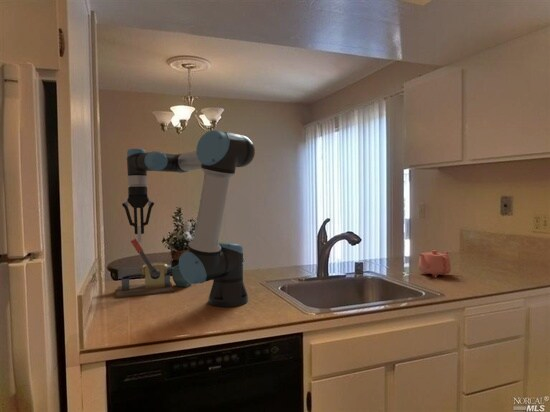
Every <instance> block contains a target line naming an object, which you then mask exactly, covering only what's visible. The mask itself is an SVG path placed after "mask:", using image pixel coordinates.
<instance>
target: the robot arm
mask: <svg viewBox="0 0 550 412" xmlns="http://www.w3.org/2000/svg"><path fill="white" fill-rule="evenodd" d="M255 155H256V150H255V145H254V143H253V141H252V140H251V139H250V138H249V137H248V136H245V135H243V134H238V133H234V132H233V133H232V132H227V131H224V130H215V129H213V130H209V131H207V132H205V133H204V134H202V135H201V137H200V138H199V140H198V142H197V145H196V150H193V151H189V152H183V153H177V154H175V153H166V152H165V153H164V152H162V151H157V150H156V151H154V150H153V151H149V152H146V150H145V149H143V148H129V149H127V152H126V168H127V186H129V187H128V188H127V190H128V191H127V192H128V197H127V200H126V201H125V202H122V204H121V205H122V207H123V208H124V210H125V213H126V217H127V219H128V223H129V225H130V226H131V227H133V228H134V235H137V241H138V243H142V235H145V226H147V225H149V222H150V221H149V220H150V217H151V212H152V209H153V207H154V206H155V202H153V201H151V200H150V198H149V197H148V186H147V185H148V173H147V172H168V173H178V174H181V173H183V174H184V173H188V172H189V171H193V170H195V171H197V170H202V171H203V175H204V176H203V182H202V187H201V194H200V198H199V199H200V200H199V205H198V206H199V207H198V212H197V218H196V224H195V230H194V235H193V236H194V238H193V240H191V241H190V242H189V243H188V247H187V251H184V252H183V253H182V254H181V255H180V256H179V259H178V265H179V269H180V272H181V274H182V276H183V278H184V279H185V280H186V281H187V282H189V283H191V285H197V284H204V283H206V282H209V281H212V285H211V288H210V292H209V296H208V303H209V304H210V305H211V306H214V307H219V308H220V307H221V308H229V307H230V308H231V307H238V306H242V305H245V304H246V303H248V300H249V299H248V297H249V296H248V292H247V289H246V286H245V282H244V252H243V251H244V250H243V246H242V245H241V244H240V243H234V242H233V243H232V242H219V240H220V234H221V227H222V223H223V216H224V211H225V206H226V200H227V199H226V198H227V196H228V195H227V193H228V189H229V182H230V178H231V177H232V176H234V175H235V173H236V169H237V168H244V167H247V166H248V165H249V164H251V163H252V162H253V160H254V158H255ZM129 205H130V206H131V208H133V219H132V216H131V213H130V209H129ZM146 206H148V208H147V213H146V218H145V217H144V216H145V215H144V209H145V207H146ZM138 208H139V215H140V217H139V218H140V226H138ZM144 220H145V221H144Z"/></svg>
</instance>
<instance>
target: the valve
mask: <svg viewBox="0 0 550 412" xmlns="http://www.w3.org/2000/svg"><path fill="white" fill-rule="evenodd" d="M150 263H151V264H152V266H153V268H154V269H157V270H159V271H160V277H159V278H158V279H152V278H151V276H150V273H151V271H150V269H149V268H148V266H147V265H146V263H145V262H144V264H141V266H135V267H122V268H117V279H118V280H119V279H120V280H121V286H122V291H125V290H129V289H130V285H131V284H130V279H133V278H141V279H142V280H143V279H144V284H145V289H151V288H162V287H166V286H170V282H171V275H172V271H171V268H172V267H171V264H167V263H164V262H161V261H160V262H150Z"/></svg>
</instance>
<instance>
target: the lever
mask: <svg viewBox="0 0 550 412" xmlns="http://www.w3.org/2000/svg"><path fill="white" fill-rule="evenodd" d="M130 243H131V244H132V245H133V248H134V249H135V251H136V252H137V254H139V256H141V258H142V260H143V262H144V264H145V263H146V265H147V266H148V268H149V269H150V271H151V273H150V276H151V278H152V279H158V278H159V277H160V271H159V270H157V269H154V268H153V266H152V264H151V263H152V262H151V261H150V260H149V258H148V257H147V256H146V253H144V249H143V247H142V246H141V244H140V242H138V239H137V238H136V237H135V238H133V239H131V240H130Z"/></svg>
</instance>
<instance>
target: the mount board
mask: <svg viewBox="0 0 550 412" xmlns="http://www.w3.org/2000/svg"><path fill="white" fill-rule="evenodd" d="M116 288H117V289H116V295H115V299H120V298H124V299H125V298H131V297H132V298H133V297H140V296H141V297H143V296H150V295H161V294H171V293H175V289H174V286H173V285H172V281H170V286H166V287H162V288H151V289H145V283H143V284H130V289H129V290H125V291H122V285H119V286H117V287H116Z"/></svg>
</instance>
